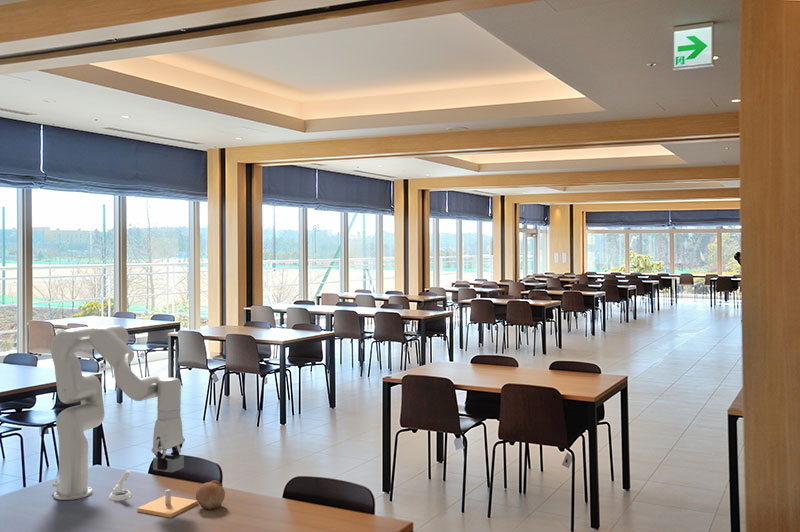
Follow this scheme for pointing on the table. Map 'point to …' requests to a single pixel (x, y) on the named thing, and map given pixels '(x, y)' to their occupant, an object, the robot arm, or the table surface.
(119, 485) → the hook
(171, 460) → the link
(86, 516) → the table surface
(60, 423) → the robot arm
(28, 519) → the table surface
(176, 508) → the wooden peg base
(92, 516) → the table surface
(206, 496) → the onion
